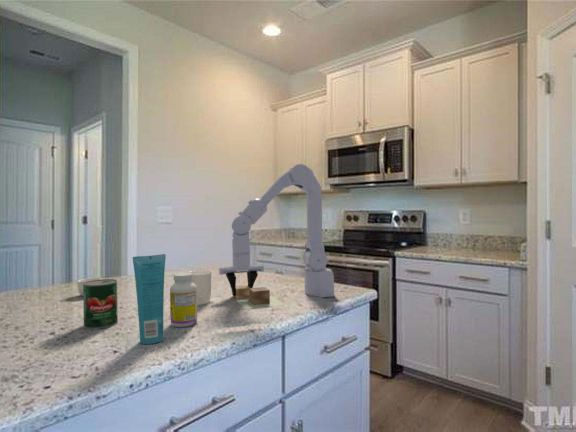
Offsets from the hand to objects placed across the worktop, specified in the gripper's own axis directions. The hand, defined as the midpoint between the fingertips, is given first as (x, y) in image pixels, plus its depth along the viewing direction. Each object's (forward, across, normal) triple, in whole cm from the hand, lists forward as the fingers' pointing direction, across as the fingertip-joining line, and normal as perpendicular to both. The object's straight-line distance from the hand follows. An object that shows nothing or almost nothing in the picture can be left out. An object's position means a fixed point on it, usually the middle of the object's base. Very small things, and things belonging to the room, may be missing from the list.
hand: (241, 294), depth 121 cm
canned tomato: (+2, +40, +12) cm, 42 cm away
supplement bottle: (+2, +20, +20) cm, 28 cm away
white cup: (+2, +14, +2) cm, 14 cm away
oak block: (+1, 0, 0) cm, 1 cm away
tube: (+2, +28, +30) cm, 41 cm away
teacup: (+2, +47, -28) cm, 55 cm away
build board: (+1, -3, +10) cm, 11 cm away
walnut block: (0, -3, +10) cm, 10 cm away
